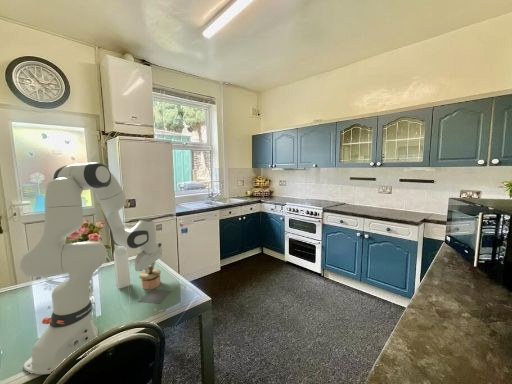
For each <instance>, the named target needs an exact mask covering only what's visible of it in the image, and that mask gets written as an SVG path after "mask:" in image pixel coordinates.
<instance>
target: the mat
mask: <svg viewBox="0 0 512 384" xmlns="http://www.w3.org/2000/svg"><path fill="white" fill-rule="evenodd" d="M171 293H173V290H170V289H157V288H156V289H155V288H153V289H149V291H148V292H147V293H146V294H145V295H143V296H142V297H141V298H140V299H139V300H138V301H137V303H147V304H157V305H160V304H162V303H163V301H164V300H165V299H166V298H167V297H168V296H169V295H170V294H171Z"/></svg>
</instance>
